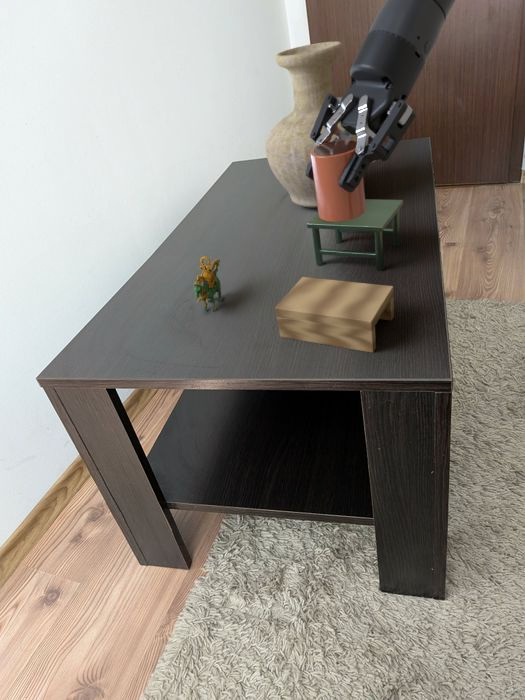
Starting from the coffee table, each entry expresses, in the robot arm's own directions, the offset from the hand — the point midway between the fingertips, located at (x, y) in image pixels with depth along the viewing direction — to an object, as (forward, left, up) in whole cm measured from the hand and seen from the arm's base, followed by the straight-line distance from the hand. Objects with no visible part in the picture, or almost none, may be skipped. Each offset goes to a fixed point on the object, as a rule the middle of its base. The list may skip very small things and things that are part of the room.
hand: (327, 183), depth 62 cm
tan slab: (0, +1, -21) cm, 21 cm away
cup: (-1, -2, -4) cm, 5 cm away
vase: (+22, -45, -21) cm, 55 cm away
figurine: (+23, -1, -21) cm, 32 cm away
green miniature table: (+5, -21, -21) cm, 30 cm away
